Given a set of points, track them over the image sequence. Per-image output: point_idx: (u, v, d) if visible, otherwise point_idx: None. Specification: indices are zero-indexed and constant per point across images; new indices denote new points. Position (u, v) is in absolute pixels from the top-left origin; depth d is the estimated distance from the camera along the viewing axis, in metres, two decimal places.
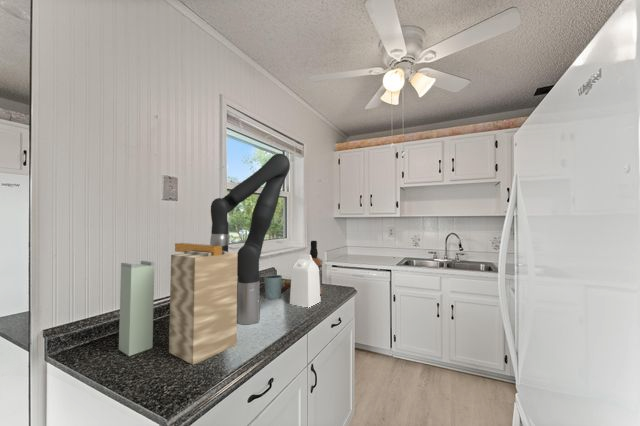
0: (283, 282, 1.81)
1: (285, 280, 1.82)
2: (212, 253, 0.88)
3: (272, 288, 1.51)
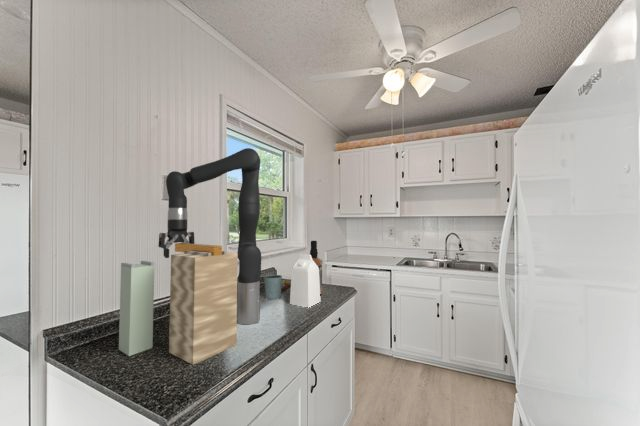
0: (283, 282, 1.81)
1: (285, 280, 1.82)
2: (212, 253, 0.88)
3: (272, 288, 1.51)
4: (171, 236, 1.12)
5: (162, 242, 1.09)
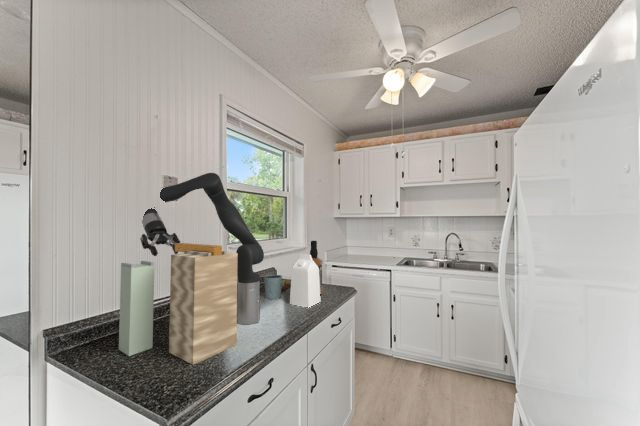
0: (283, 282, 1.80)
1: (285, 280, 1.82)
2: (212, 253, 0.88)
3: (272, 288, 1.51)
4: (152, 236, 1.12)
5: (145, 241, 1.09)
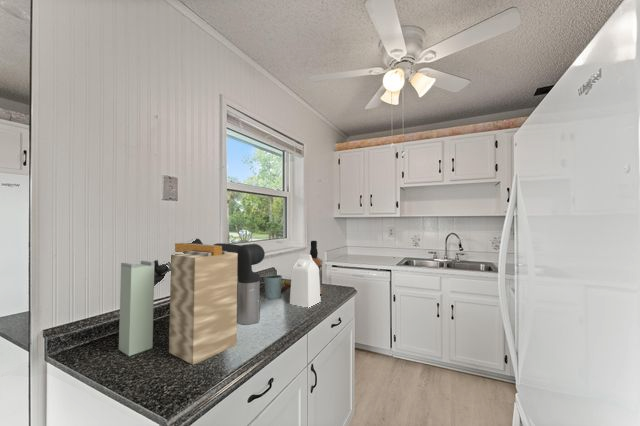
0: (283, 282, 1.80)
1: (285, 280, 1.81)
2: (212, 253, 0.88)
3: (272, 288, 1.51)
4: None
5: None
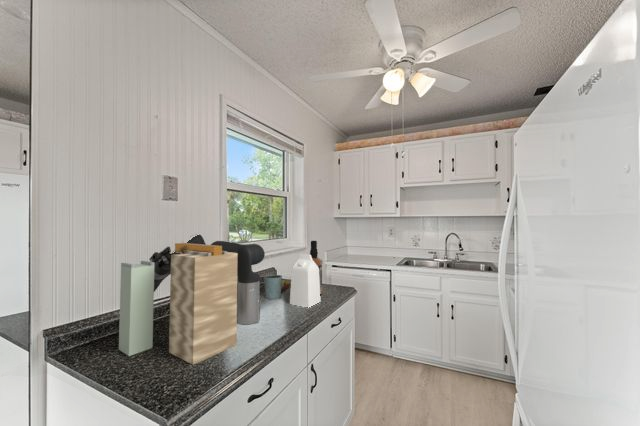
0: (282, 282, 1.80)
1: (284, 280, 1.81)
2: (212, 253, 0.88)
3: (272, 288, 1.51)
4: None
5: None
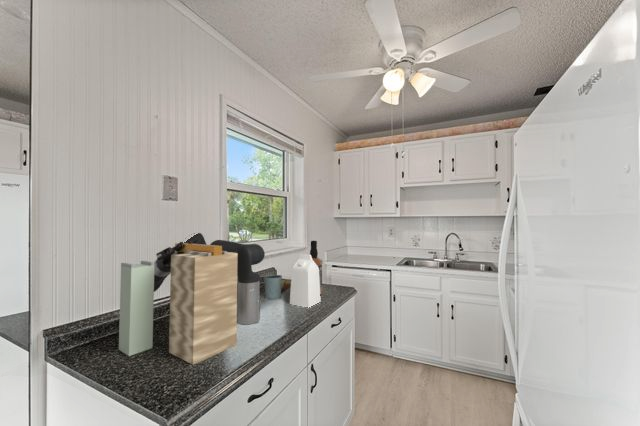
0: (282, 282, 1.80)
1: (284, 280, 1.81)
2: (212, 253, 0.88)
3: (272, 288, 1.51)
4: None
5: None
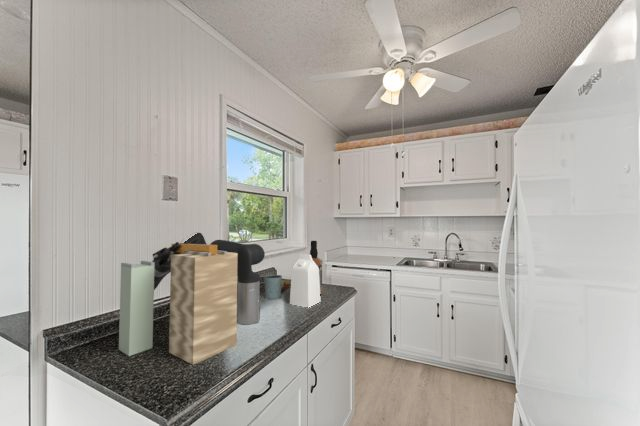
0: (282, 282, 1.80)
1: (284, 280, 1.81)
2: (207, 252, 0.89)
3: (272, 288, 1.51)
4: None
5: (161, 250, 0.99)
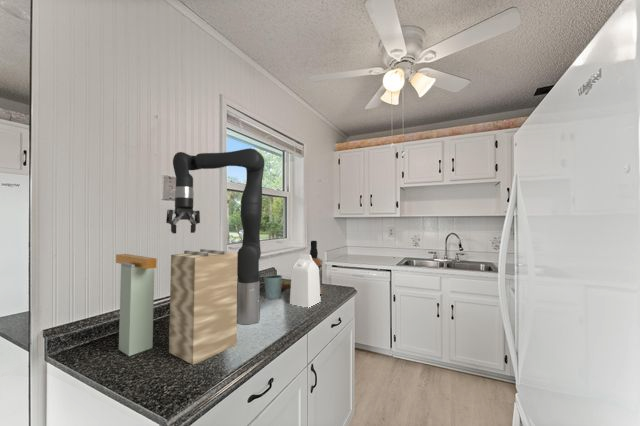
0: (281, 283, 1.78)
1: (283, 281, 1.79)
2: (145, 266, 0.86)
3: (272, 288, 1.51)
4: (178, 213, 1.19)
5: (170, 218, 1.16)
